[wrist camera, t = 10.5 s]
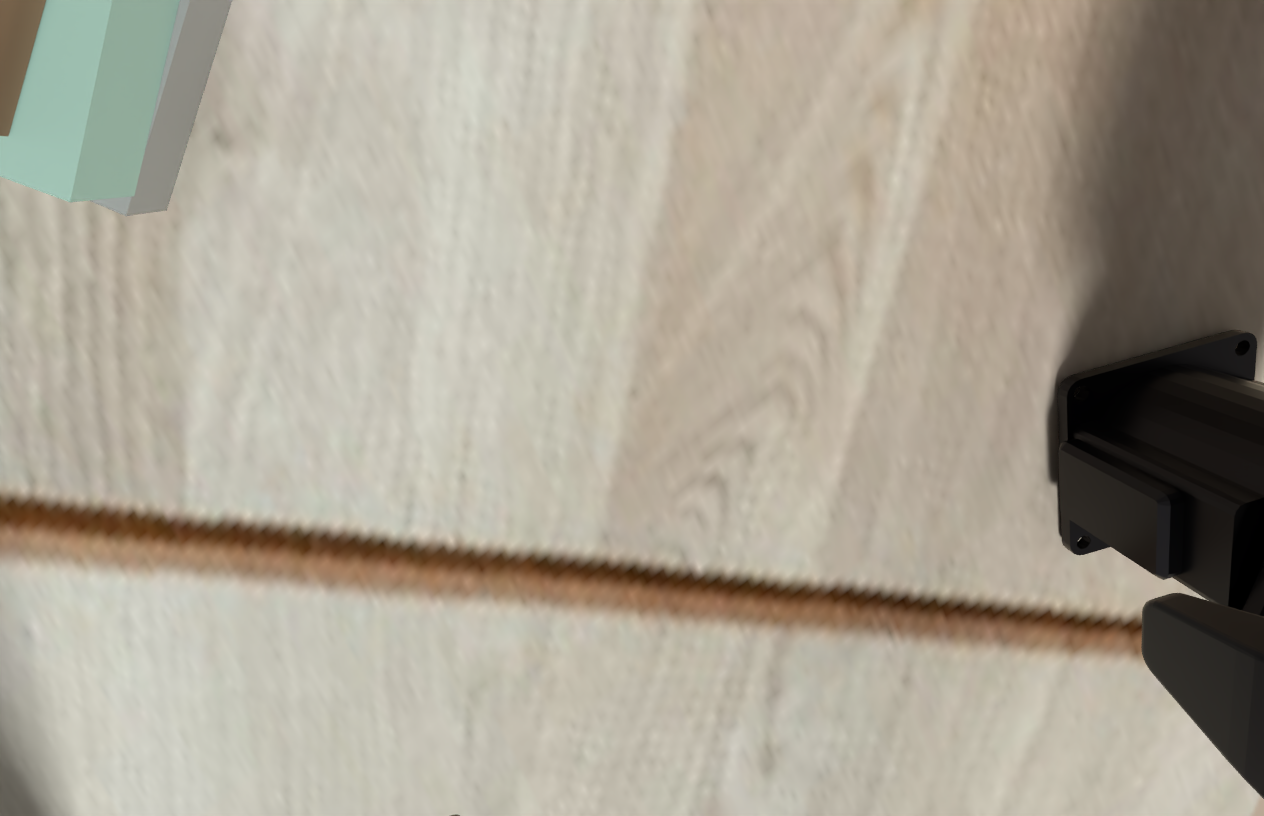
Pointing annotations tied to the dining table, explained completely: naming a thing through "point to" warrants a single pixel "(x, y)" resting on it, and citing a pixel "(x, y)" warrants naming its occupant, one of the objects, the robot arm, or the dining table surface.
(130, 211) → the grey slab
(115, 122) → the teal slab
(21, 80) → the walnut pillar block
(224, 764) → the dining table surface
